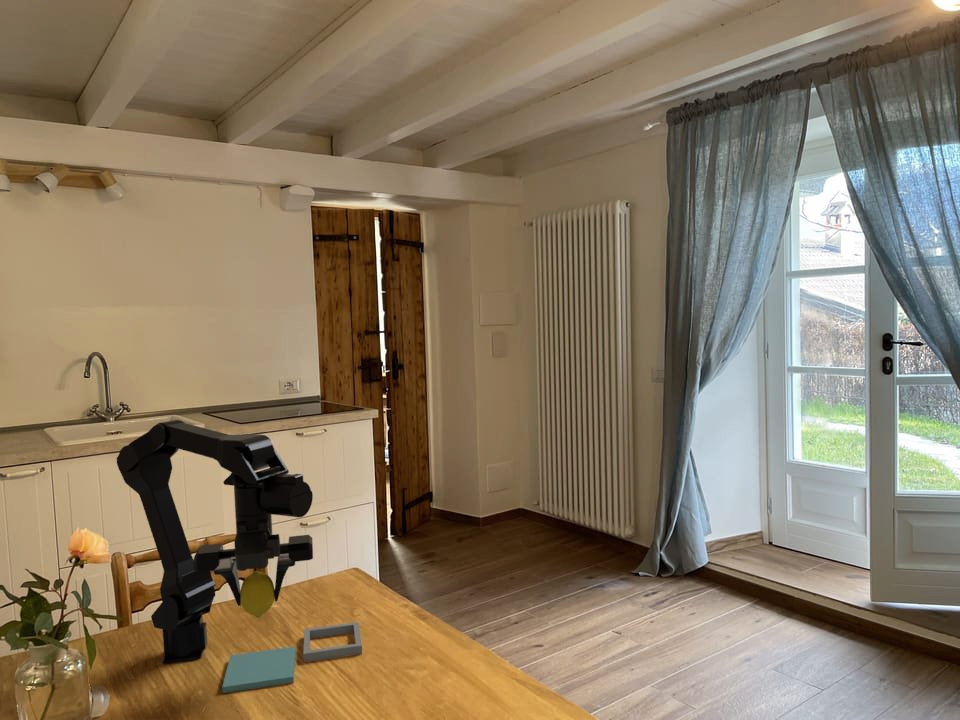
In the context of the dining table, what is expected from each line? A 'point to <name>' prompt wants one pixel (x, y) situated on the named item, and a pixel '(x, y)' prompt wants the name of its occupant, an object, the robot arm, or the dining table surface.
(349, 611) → the dining table surface
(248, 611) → the lemon
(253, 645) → the dining table surface
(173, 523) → the robot arm
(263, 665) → the tile
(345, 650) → the holder
